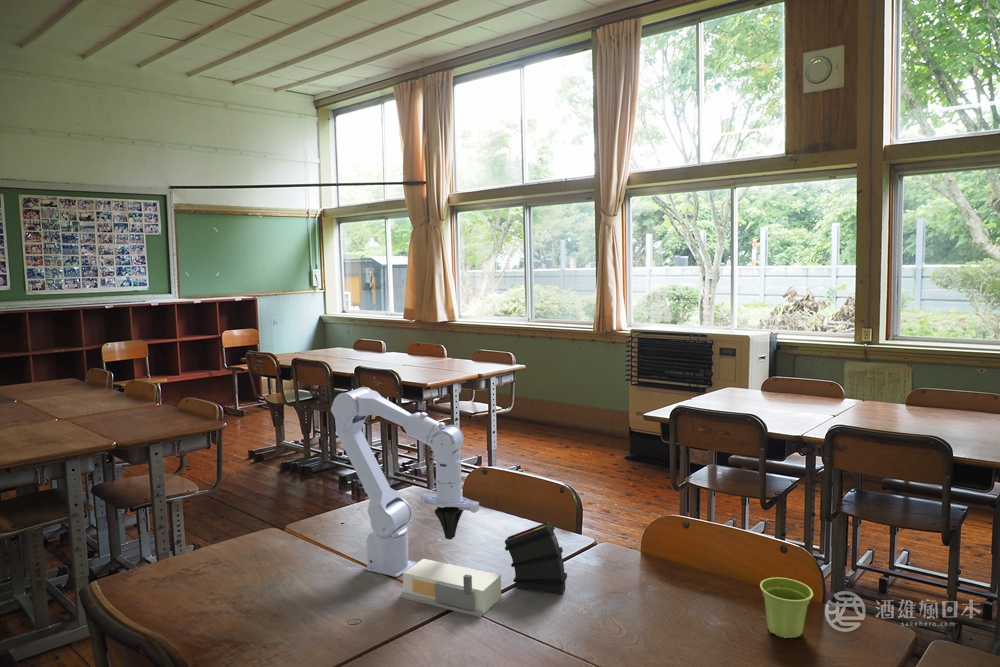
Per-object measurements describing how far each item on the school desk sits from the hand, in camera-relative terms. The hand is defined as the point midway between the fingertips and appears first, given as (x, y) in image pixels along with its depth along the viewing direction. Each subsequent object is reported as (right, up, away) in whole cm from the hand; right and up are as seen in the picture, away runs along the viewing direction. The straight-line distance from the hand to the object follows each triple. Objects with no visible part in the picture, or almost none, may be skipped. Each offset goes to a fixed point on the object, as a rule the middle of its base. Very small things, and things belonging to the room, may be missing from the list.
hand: (450, 537), depth 157 cm
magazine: (+19, -10, -5) cm, 22 cm away
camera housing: (+1, -10, -8) cm, 13 cm away
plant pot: (+67, -11, -25) cm, 72 cm away
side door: (+2, -10, -14) cm, 18 cm away
